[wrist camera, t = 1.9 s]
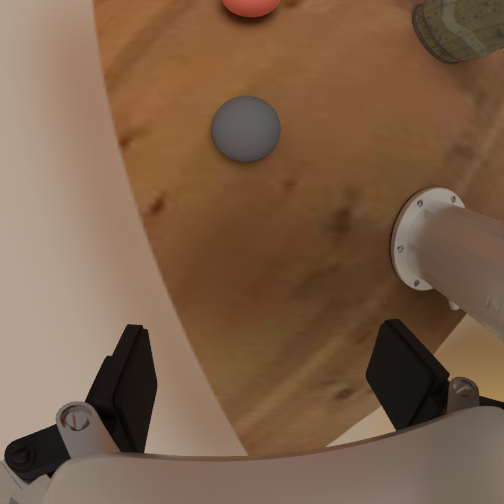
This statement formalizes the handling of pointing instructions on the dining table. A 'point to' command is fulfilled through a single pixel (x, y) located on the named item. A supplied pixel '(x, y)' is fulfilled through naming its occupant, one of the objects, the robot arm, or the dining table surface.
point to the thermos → (460, 28)
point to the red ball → (251, 7)
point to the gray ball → (245, 128)
